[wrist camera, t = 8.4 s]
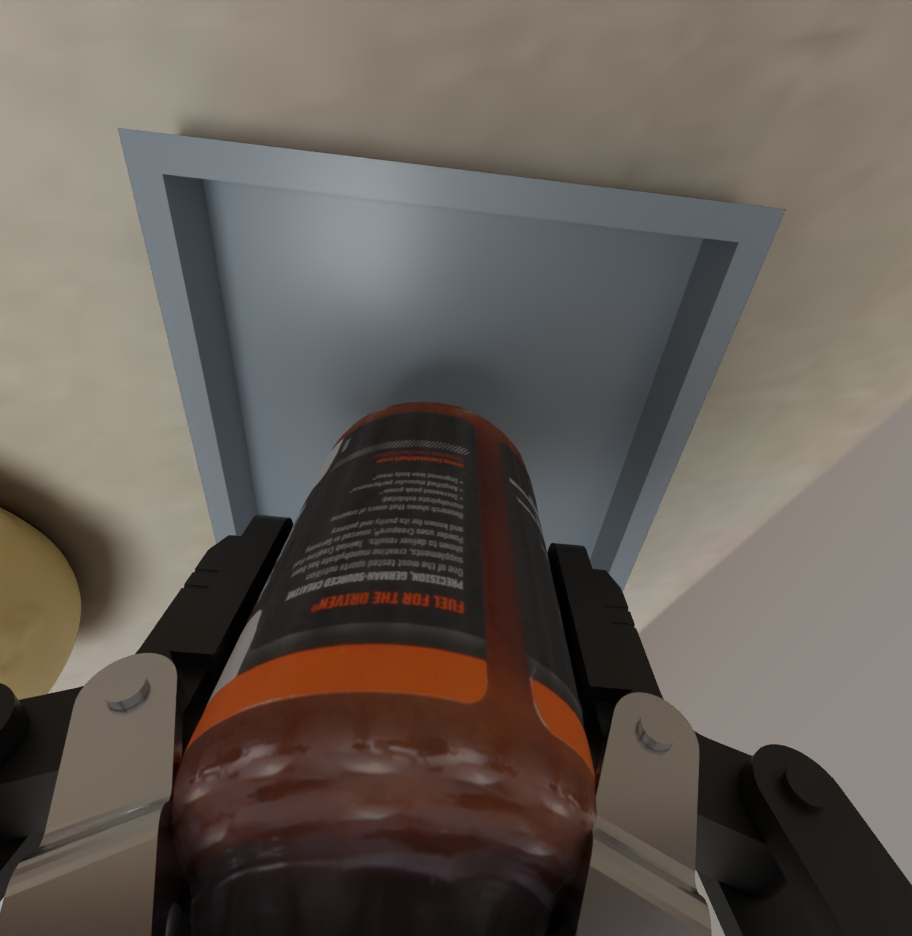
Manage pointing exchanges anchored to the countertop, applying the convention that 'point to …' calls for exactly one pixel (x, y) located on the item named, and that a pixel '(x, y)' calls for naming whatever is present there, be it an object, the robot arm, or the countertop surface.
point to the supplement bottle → (395, 707)
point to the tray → (438, 320)
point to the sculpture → (34, 608)
